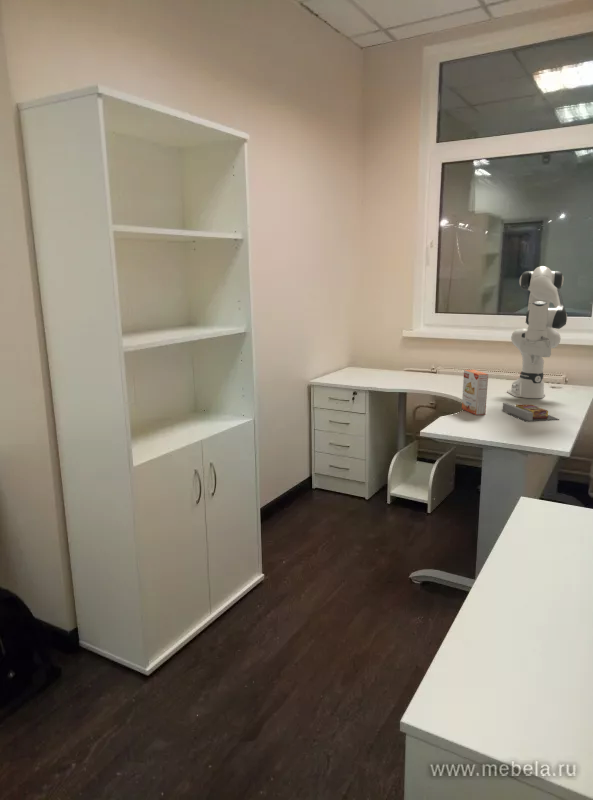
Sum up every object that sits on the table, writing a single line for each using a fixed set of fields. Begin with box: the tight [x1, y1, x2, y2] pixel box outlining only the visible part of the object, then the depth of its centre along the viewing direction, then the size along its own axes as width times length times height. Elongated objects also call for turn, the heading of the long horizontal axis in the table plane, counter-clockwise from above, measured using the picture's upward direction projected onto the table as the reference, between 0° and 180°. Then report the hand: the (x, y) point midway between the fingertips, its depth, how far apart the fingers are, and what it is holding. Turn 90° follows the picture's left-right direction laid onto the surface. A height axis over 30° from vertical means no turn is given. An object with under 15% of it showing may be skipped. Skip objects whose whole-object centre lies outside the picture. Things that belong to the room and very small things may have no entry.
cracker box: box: [461, 369, 489, 416], centre depth 289 cm, size 14×6×21 cm, turn 13°
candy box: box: [515, 403, 549, 419], centre depth 283 cm, size 9×4×15 cm
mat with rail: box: [502, 402, 560, 422], centre depth 285 cm, size 23×18×4 cm
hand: (534, 363), depth 279 cm, fingers closed
